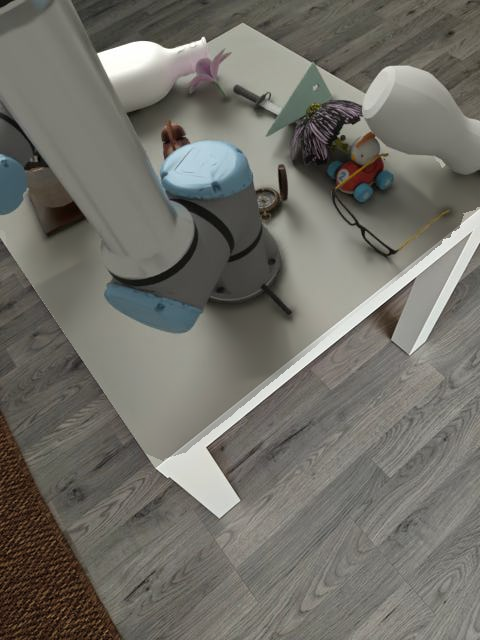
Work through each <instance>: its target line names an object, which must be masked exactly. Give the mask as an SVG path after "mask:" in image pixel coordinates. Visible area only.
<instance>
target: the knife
mask: <svg viewBox="0 0 480 640" xmlns="http://www.w3.org/2000/svg"><path fill="white" fill-rule="evenodd" d="M232 91H233V93H234V94H236V95H238V96H240V97H242V98H244V99H246V100H248V101H250V102H252V103H254V105H253V110H254V111H257V110H260V109H262V108H264V109H265V110H267V111H269V112H271V113H273V114H275V115H277V116H278V115H279V113H280V111H281V110H282V108H283V107H282V106H280V105H278V104H275V103H274V102H272V101H270V99H271V97H272V93H271V92H270V91H266V92H265V93H264V94H262V95H261V96H259V95H258V94H256V93H254V92H252V91H250V90H248V89H246V88H244V87H243V86H241V85H239V84H235V85H234V86H233V89H232ZM267 95H269V96H268V98H267V99H266V97H267ZM300 120H301V118H299V119H298V120H296V121H294V122H292V123H294V124H296V125H297V124H298V123H299V121H300Z"/></svg>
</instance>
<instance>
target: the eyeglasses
mask: <svg viewBox="0 0 480 640" xmlns="http://www.w3.org/2000/svg"><path fill="white" fill-rule="evenodd" d="M389 155H390V153H387V152H386V153H379V155H378V156H377V157H375V158H374V159H372V160H371V161H370V162H368V163H367V164H366V165H364V166H363V167H362V168H360V169H359V170H358V171H357V172H355V173H354V174H353V175H351V176H350V177H349V178H347V179H346V180H345V181H343V182H342V183H341V184H339V185H338V186H337V185H336V187H334V188H332V189H331V192H330V193H331V199H332V204H333V206H334V208H335V209H336V211H337V213H338V215H340V218H342V219H343V220H344V221H345V223H347V224H348V225H349V226H351V227H354V226H356V227H357V228H358V229H359V230H360V234H361V236H362V237H361V238H362V239H363V240H364V241H365V242H366V244H368V245H369V246H370V247H371V248H372V249H374V250H375V251H376V252H378V253H379V254H380V255H382V256H384V257H390V256H394V255H396V254H397V253H399V252H400V251H401V250H402V249H403V248H404V247H406V246H407V245H408V244H410V242H411V241H412V240H414V239H415V238H416V237H417V236H419V235H420V234H421V233H422V232H423V231H425V230H426V229H427V228H428V227H430V226H431V225H432V224H433V223H434V222H436V221H437V220H438V219H439V218H441V216H443V215H445V214H448V213H450V211H451V210H450V209H448V210H446V211H443V212H442V213H440V214H439V215H438V216H436V217H435V218H434V219H432V220H431V221H430V222H428V223H427V224H426V225H425V226H424V227H423V228H422V229H420V230H419V231H418V232H417V233H415V235H413V236H412V237H411V238H409V239H408V240H407V241H406V242H404V243H403V244H402V245H401V246H400V247H398V248H397V249H396V250H395V249H393V248H392V247H390V246H389V245H387V244H386V243H385V242H383V241H382V239H380V238H379V237H377V236H376V235H375V234H374V233H372V232H371V231H370V230H369V229H368V228H367V227H366V226H364V225H362V224H360V221H358V219H357V218H356V216H355V215H354V214H353V213H352V212H351V211H350V209H349V208H348V207H347V206H346V205H345V203H344V202H343V201H342V200H341V198H340V197H339V196H338V194H337V193H336V192H337V191H338V190H339V188H340V187H341V186H342V185H343V184H345V183H346V182H347V181H348V180H349V179H351V178H352V177H353V176H355V175H356V174H357V173H358V172H360V171H361V170H362V169H364V168H365V167H366V166H367V165H369V164H370V163H371V162H373V161H374V160H375V159H377V158H378V157H381V158H382V157H384V158H386V157H388V156H389ZM336 201H337V202H338V203H339V204H340V205H341V207H342V208H343V209H344V210H345V211H346V212H347V214H348V215H349V216H350V217H351V218H352V219H353V221H354V222H353V223H352V222H350V221H349V220H348V219H347V218H346V217H345V215H344V214H343V213H342V211H341V210H340V208H339V207H338V205H337V202H336ZM366 233H367V234H368V235H369V236H371V237H372V238H373V239H374V240H376V241H377V242H378V243H379V244H380V245H382V246H383V247H384V248H385V249H386V250H388V253H386V252H383V251H382V250H380V249H379V248H377V247H376V246H375V245H373V244H372V243H371V242H370V241H369V239H367V237H366Z"/></svg>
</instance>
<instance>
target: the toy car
mask: <svg viewBox="0 0 480 640" xmlns="http://www.w3.org/2000/svg"><path fill="white" fill-rule="evenodd" d="M350 149H351V152H350V154H349V156H348V159H346V160H347V161H346V162H345V163H343V162H342V161H341V160H334V161H332V162H331V163H330V164H329V166H328V167H327V175H328V176H329V177H330V178H331V179H333V180H335V181H336V187H337V186H338V185H339V184H341V183H342V182H343V181H345V180H346V179H347V178H349V177H350V176H351V175H353V174H354V173H355V172H357V171H358V170H359V169H360V168H362V167H363V166H364V165H366V164H367V163H368V162H370V161H371V160H372V159H374V158H375V157H377V156H378V155H380V154H381V144H380V142H379V141H378V138H377V137H376V136H375V135H374V134H373V133H372V131H369V132H367V133H365V134H364V135H360V136H359V137H357V138H356V139H355V140H354V141H353V142H352V145H351V147H350ZM394 179H395V176H394V174H393V173H392V172H391V171H389V170H387V169H385V165H384V160H383V158H382V156H381V157H378V158H377V159H375V160H374V161H373V162H371V163H370V164H369V165H367V166H366V167H365V168H364V169H362V170H361V171H360V172H358V173H357V174H356V175H355V176H353V177H352V178H351V179H349V180H348V181H347V182H346V183H345V184H343V185H342V186H341V187H340V188H338V190H340V191H341V192H342V193H344V194H348V195H353V197H354V199H355V200H357V202H359V203H364V202H366V201H368V200H369V199H370V198H371V196H372V194H373V192H374V191H373V188H372V187H371V186H372V185H373V184H374V185H375V186H376V187H377V188H379V189H380V190H386V189H388V188H389V187H390V186H391V185H392V184H393V182H394Z"/></svg>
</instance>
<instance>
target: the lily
mask: <svg viewBox="0 0 480 640" xmlns="http://www.w3.org/2000/svg"><path fill="white" fill-rule="evenodd" d="M225 50H226V48H223V49H222V50H220V52H219V53H217V54H216V55H215V57H214V58H211V59H209V58H203V59H200V60H198V62H197V63H196V68H195V70H196V72H195V73H196V76H195V77H193V78H192V79H191V80H190V81H189V82H188V84H186V86H185V89H186V88H188V87H190V90H189V94H192V93H193V92H194V91H195V89H196V88H197V87H198V86H199V85H200V84H201V83H212V82H213V83H215V84H216V85H217V87H218V89H219V90H220V92H221V93H222V96H223V97H224V99H227V96H226V94H225V92H224V91H223V89H222V88H221V86H220V84H219V82H218V80H217V78H218V74H219V73H218V72H219V66H220V65H221V63H222V62H224V61H225V60H226V59H227V58H228V57H230V55H231V54H232V53H233V52H232V51H229V52H225ZM224 52H225V53H224Z"/></svg>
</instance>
